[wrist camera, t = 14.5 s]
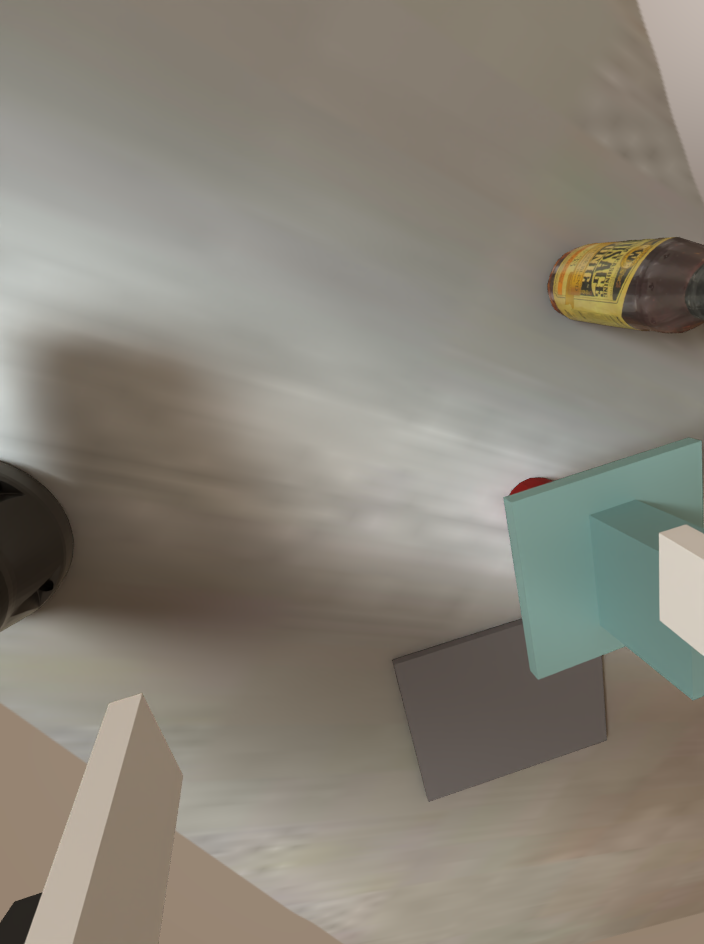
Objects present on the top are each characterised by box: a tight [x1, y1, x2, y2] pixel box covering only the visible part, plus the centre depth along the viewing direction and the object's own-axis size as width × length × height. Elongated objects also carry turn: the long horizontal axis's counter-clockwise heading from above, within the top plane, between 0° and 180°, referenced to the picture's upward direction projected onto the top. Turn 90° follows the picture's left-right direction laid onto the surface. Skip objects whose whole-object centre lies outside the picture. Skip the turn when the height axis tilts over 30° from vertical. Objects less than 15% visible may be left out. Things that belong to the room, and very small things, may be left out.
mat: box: [393, 619, 607, 802], centre depth 61 cm, size 24×22×1 cm
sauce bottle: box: [547, 237, 704, 333], centre depth 37 cm, size 7×6×20 cm
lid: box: [503, 438, 704, 700], centre depth 37 cm, size 16×16×10 cm
